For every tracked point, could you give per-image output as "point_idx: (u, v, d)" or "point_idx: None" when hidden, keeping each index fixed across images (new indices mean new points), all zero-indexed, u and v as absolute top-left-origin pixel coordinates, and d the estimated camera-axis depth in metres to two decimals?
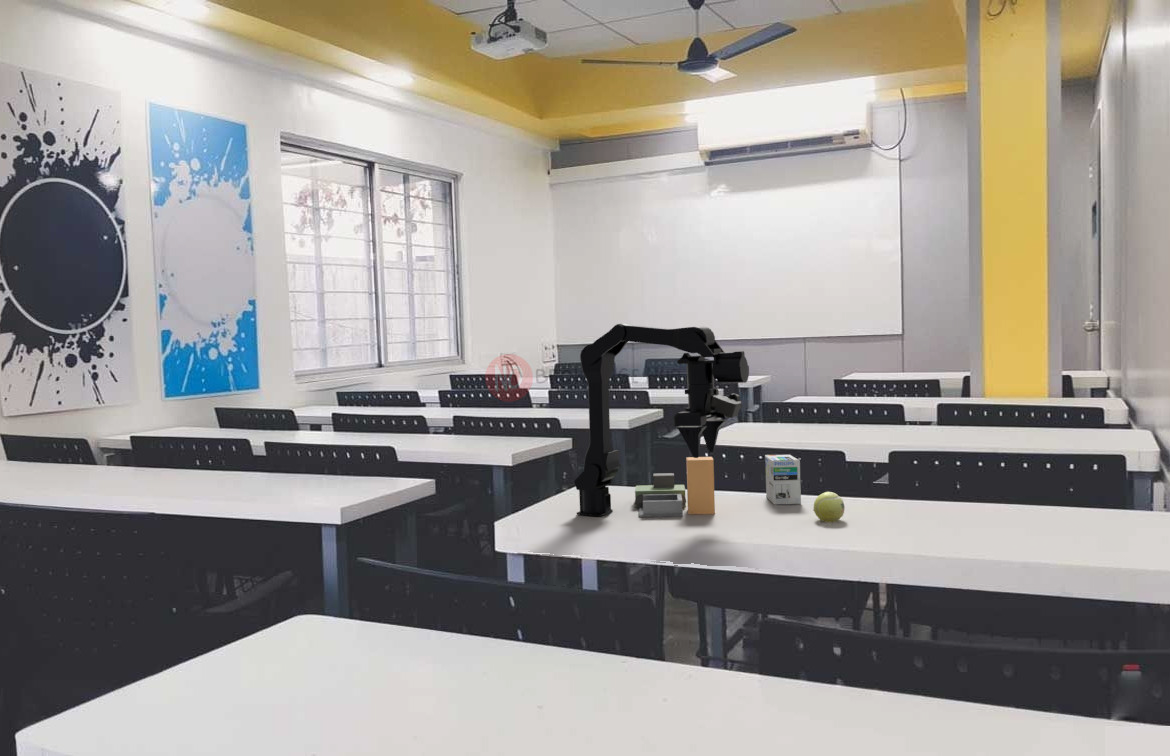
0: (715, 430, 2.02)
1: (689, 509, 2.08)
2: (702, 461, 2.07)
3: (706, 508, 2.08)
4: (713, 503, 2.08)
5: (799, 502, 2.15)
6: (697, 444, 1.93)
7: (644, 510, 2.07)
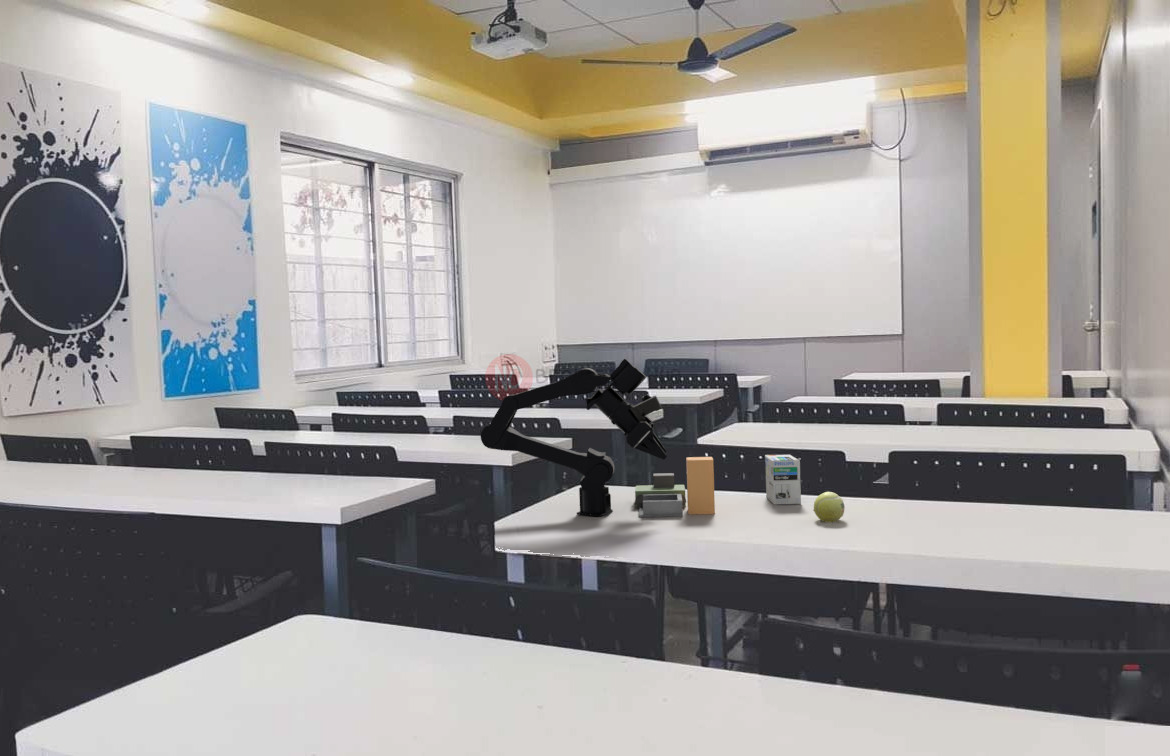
0: (653, 435, 2.15)
1: (689, 509, 2.08)
2: (702, 461, 2.07)
3: (706, 508, 2.08)
4: (713, 503, 2.08)
5: (799, 502, 2.15)
6: (658, 446, 2.05)
7: (644, 510, 2.07)
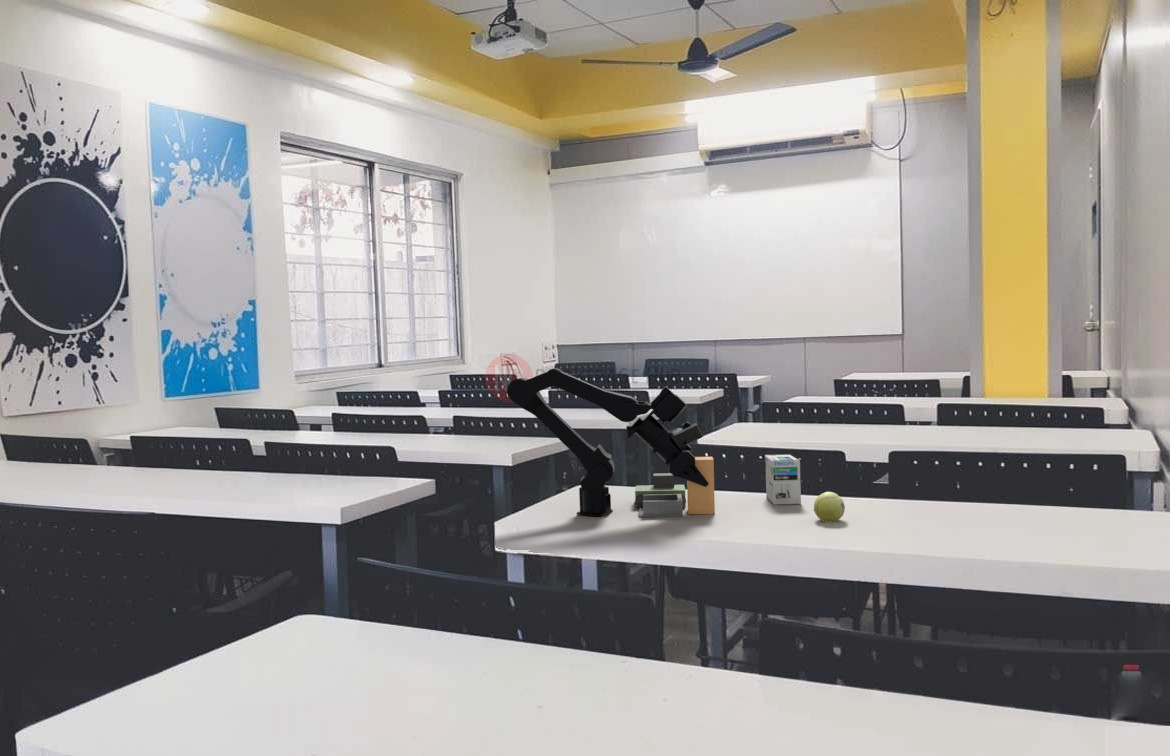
0: None
1: (689, 509, 2.08)
2: (702, 461, 2.07)
3: (706, 508, 2.08)
4: (713, 503, 2.08)
5: (799, 502, 2.15)
6: (700, 474, 2.06)
7: (644, 510, 2.07)
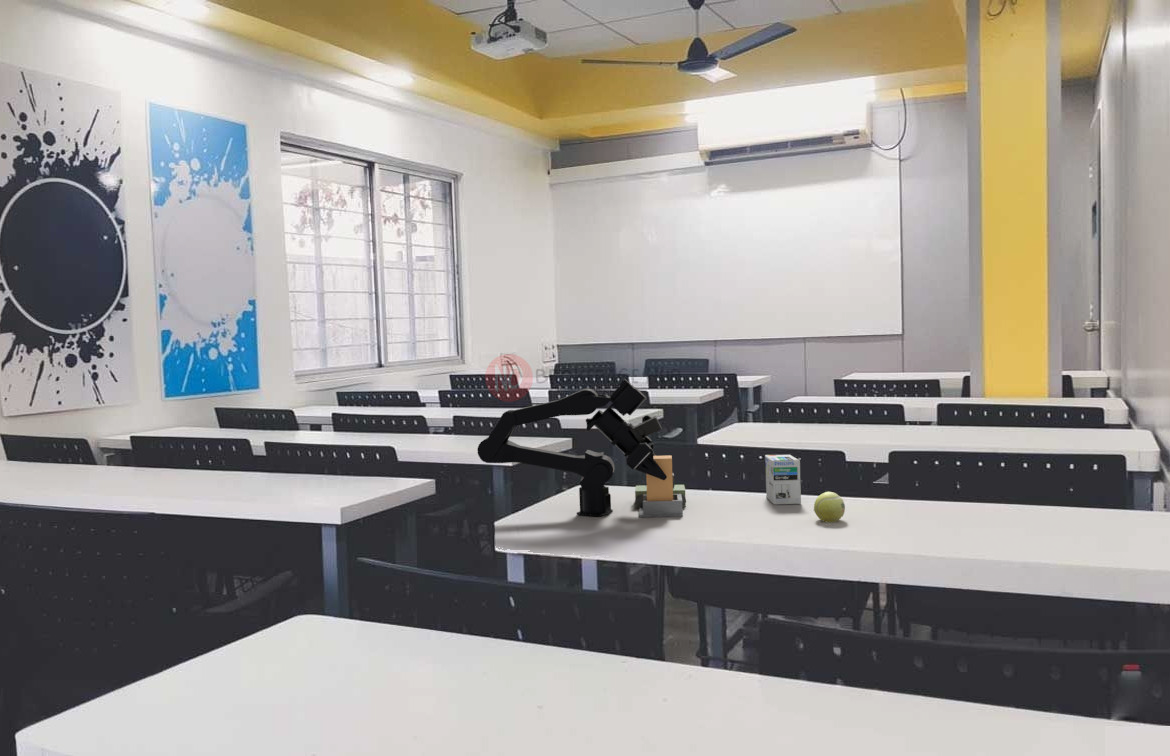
0: (653, 455, 2.15)
1: None
2: (661, 460, 2.08)
3: None
4: None
5: (799, 502, 2.15)
6: (658, 467, 2.06)
7: (644, 510, 2.07)
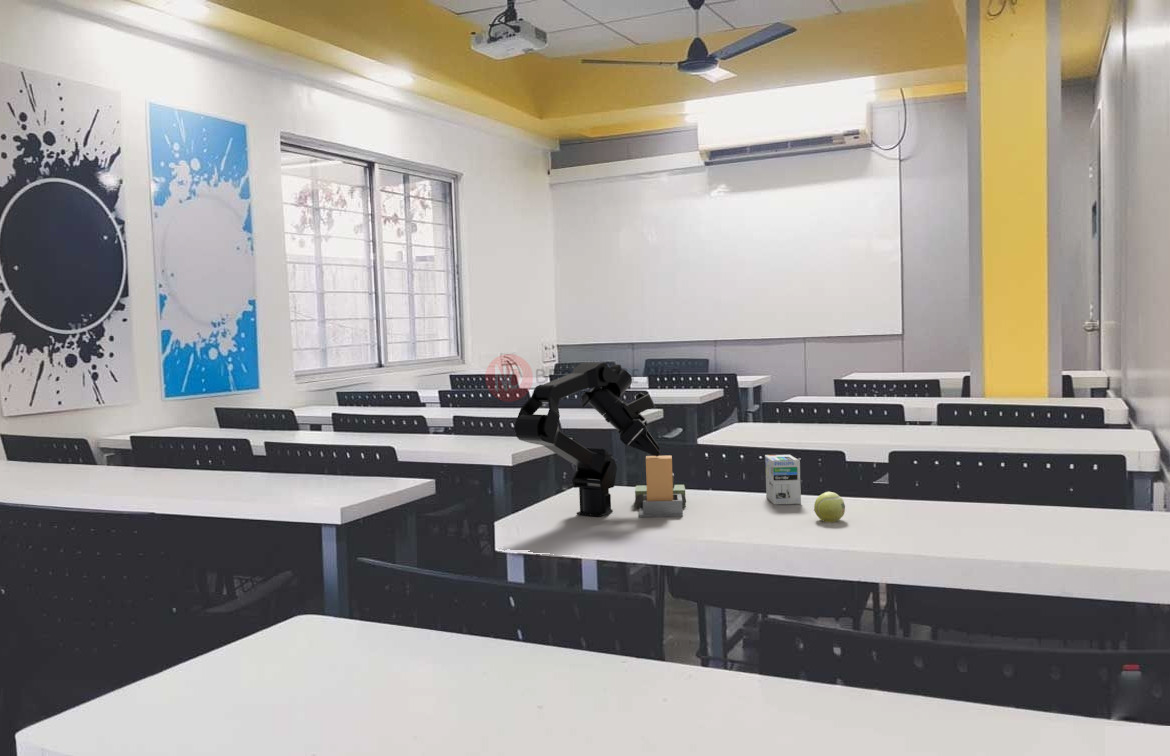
0: (647, 432, 2.19)
1: None
2: (661, 460, 2.08)
3: None
4: None
5: (799, 502, 2.15)
6: (651, 444, 2.09)
7: (644, 510, 2.07)
